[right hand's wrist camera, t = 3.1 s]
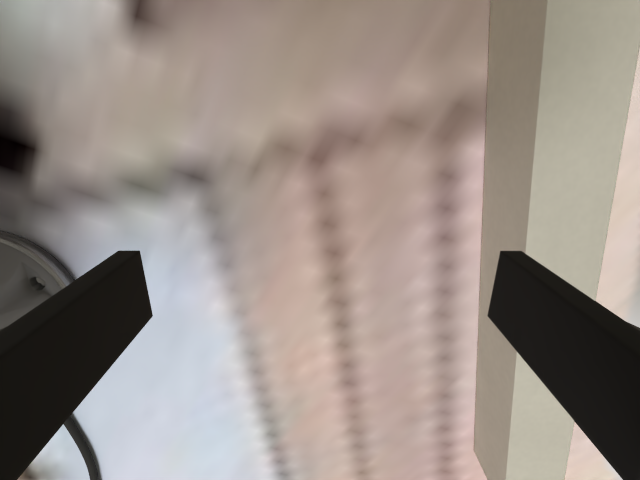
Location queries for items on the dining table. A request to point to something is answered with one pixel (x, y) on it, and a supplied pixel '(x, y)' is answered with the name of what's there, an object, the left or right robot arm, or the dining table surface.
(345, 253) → the dining table surface
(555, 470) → the post
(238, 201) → the dining table surface
